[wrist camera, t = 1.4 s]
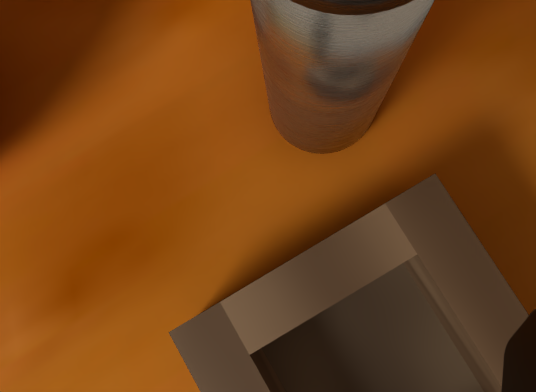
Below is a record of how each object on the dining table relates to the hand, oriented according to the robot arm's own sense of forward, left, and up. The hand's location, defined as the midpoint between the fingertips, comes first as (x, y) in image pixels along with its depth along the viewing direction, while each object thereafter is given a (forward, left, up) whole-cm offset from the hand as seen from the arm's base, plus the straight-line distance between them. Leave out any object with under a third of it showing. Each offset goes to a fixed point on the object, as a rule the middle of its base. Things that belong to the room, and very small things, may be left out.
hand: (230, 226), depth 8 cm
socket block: (+1, -6, -13) cm, 14 cm away
